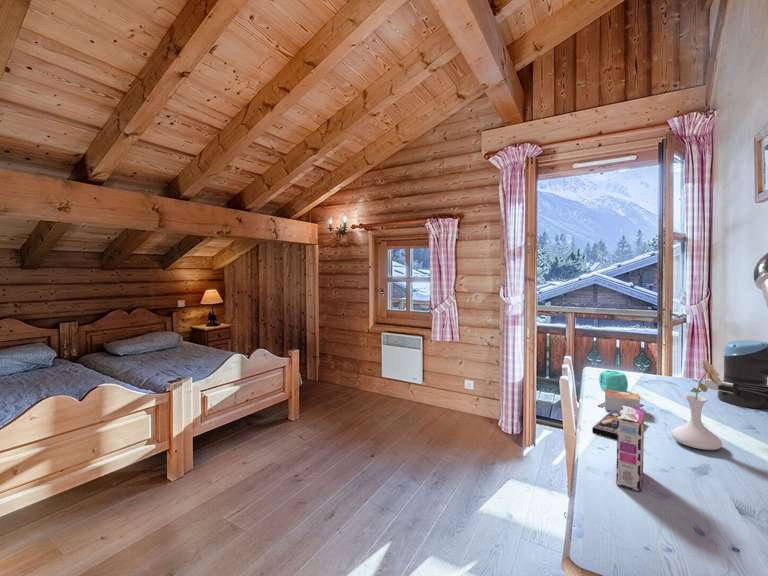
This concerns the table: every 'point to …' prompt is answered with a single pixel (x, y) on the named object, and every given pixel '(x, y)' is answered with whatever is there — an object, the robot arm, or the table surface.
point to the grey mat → (604, 405)
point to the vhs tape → (607, 425)
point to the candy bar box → (630, 447)
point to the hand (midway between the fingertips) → (705, 383)
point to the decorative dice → (613, 381)
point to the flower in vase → (698, 417)
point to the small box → (620, 400)
